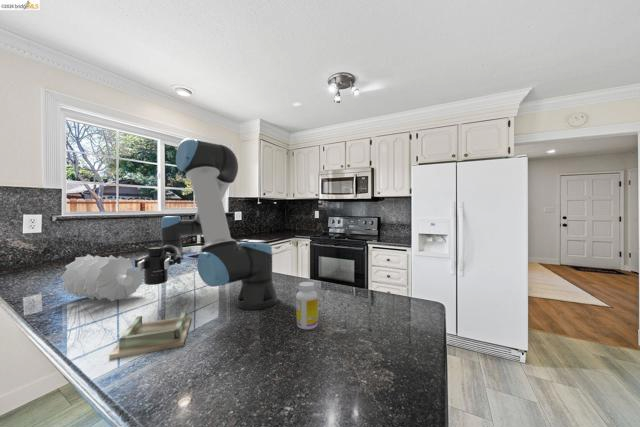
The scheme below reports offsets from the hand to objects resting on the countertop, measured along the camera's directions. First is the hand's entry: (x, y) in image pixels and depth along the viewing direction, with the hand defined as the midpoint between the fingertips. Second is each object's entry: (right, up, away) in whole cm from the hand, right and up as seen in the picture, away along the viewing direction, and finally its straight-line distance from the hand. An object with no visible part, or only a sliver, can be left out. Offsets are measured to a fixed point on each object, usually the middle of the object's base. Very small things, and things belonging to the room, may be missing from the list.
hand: (152, 266), depth 83 cm
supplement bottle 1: (-2, -7, +5) cm, 8 cm away
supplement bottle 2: (+51, -17, -4) cm, 54 cm away
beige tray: (+8, -18, -10) cm, 22 cm away
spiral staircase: (-35, -18, +23) cm, 45 cm away
